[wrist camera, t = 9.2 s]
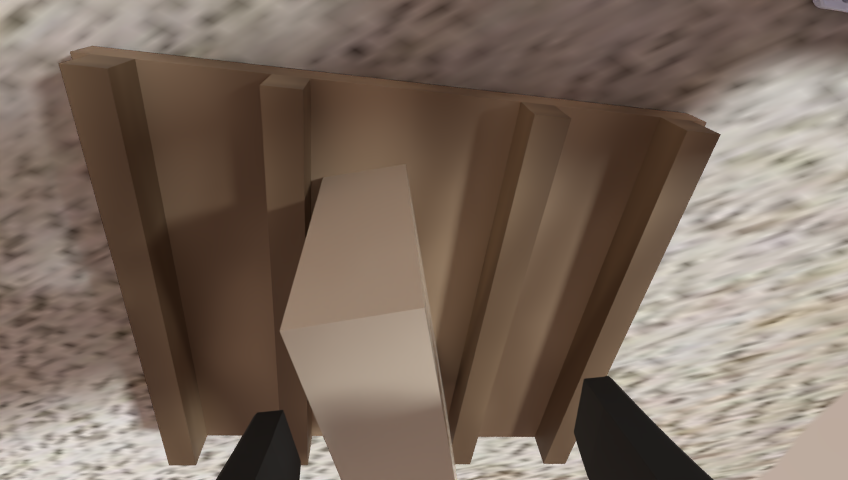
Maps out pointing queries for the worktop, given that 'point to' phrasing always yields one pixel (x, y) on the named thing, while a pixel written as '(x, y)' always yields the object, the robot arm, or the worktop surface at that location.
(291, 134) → the rack
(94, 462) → the worktop surface
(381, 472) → the beige rectangular board
